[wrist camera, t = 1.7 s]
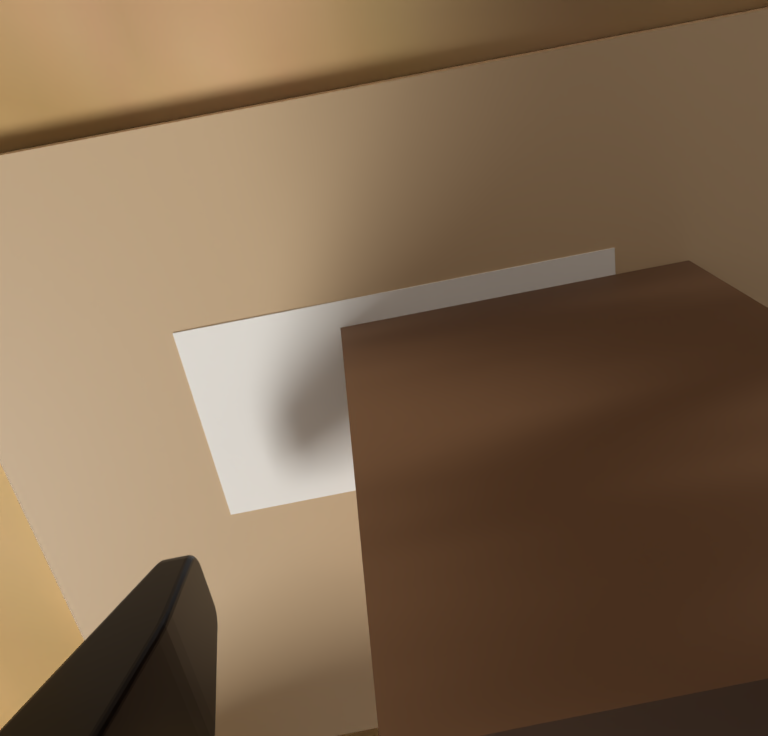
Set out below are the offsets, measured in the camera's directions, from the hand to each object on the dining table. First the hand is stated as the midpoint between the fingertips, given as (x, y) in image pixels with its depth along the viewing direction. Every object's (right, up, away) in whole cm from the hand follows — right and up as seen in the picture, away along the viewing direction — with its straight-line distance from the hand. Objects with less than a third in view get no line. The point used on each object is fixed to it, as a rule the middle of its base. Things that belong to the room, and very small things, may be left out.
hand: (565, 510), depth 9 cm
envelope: (0, +1, +2) cm, 2 cm away
